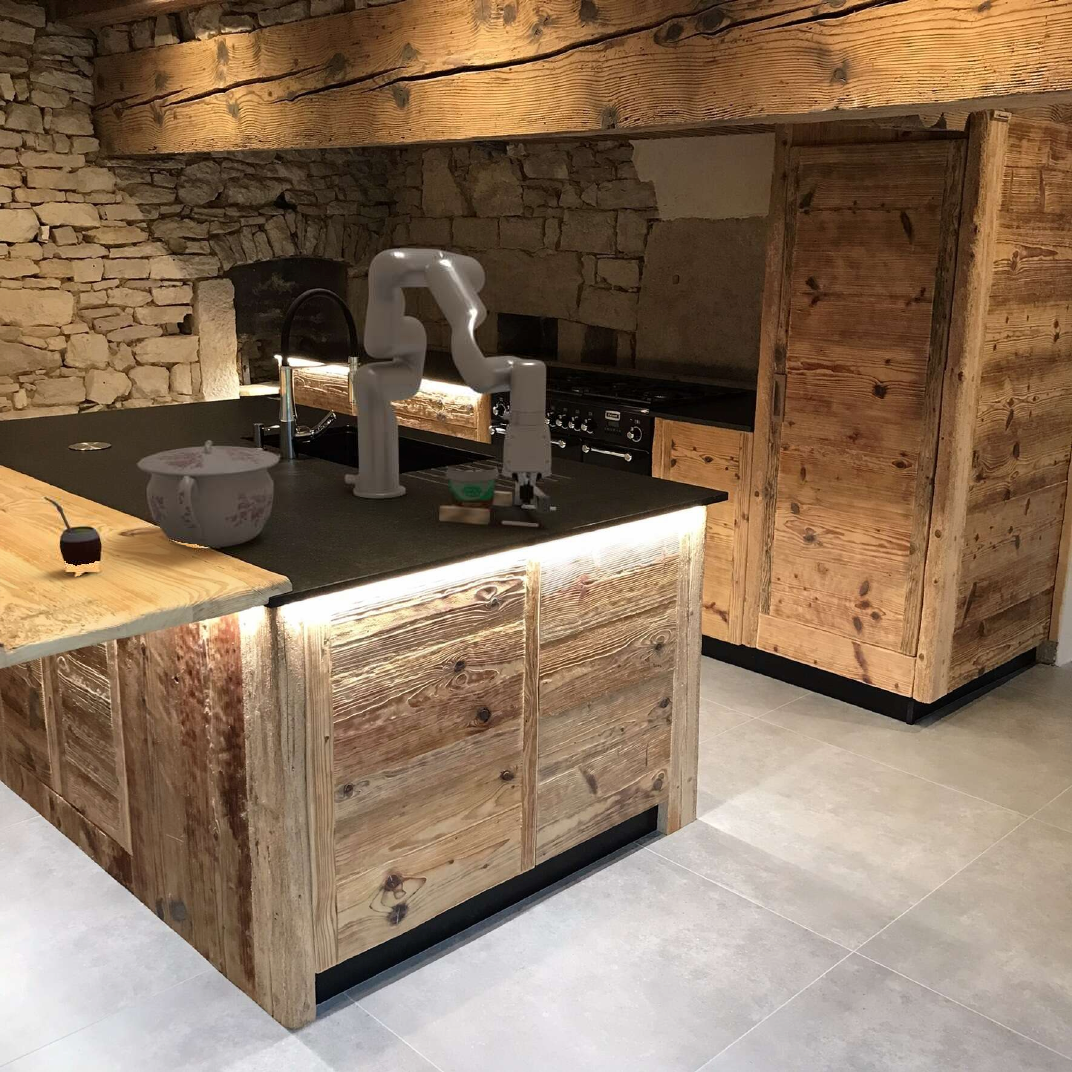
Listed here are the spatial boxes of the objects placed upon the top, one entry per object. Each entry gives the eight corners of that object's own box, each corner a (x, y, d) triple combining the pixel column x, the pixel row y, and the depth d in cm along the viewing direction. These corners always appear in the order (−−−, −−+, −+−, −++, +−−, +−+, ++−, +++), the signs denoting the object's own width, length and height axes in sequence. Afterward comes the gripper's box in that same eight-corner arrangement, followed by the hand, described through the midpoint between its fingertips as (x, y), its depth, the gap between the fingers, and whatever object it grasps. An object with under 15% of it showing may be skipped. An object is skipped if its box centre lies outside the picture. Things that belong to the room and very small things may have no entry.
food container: (450, 516, 245) (450, 473, 242) (445, 510, 250) (445, 467, 248) (504, 514, 248) (504, 471, 245) (497, 508, 254) (498, 465, 251)
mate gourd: (109, 566, 204) (102, 488, 200) (94, 579, 196) (86, 497, 192) (68, 566, 203) (60, 487, 199) (51, 578, 196) (43, 497, 192)
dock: (439, 520, 241) (439, 507, 240) (467, 501, 260) (467, 488, 259) (486, 524, 238) (486, 511, 238) (512, 504, 257) (512, 492, 256)
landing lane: (502, 524, 239) (502, 521, 239) (522, 507, 255) (522, 504, 255) (537, 526, 237) (537, 524, 237) (555, 509, 253) (556, 507, 253)
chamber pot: (230, 517, 241) (225, 424, 236) (311, 539, 224) (307, 439, 219) (113, 542, 220) (104, 440, 215) (192, 568, 203) (185, 459, 198)
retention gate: (538, 529, 234) (539, 492, 232) (514, 503, 257) (514, 469, 255) (549, 528, 235) (550, 492, 233) (524, 502, 258) (524, 469, 256)
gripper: (493, 421, 228) (493, 506, 233) (564, 421, 230) (562, 506, 234) (491, 415, 235) (490, 498, 240) (560, 416, 237) (558, 498, 241)
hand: (526, 502), depth 237 cm, fingers closed
